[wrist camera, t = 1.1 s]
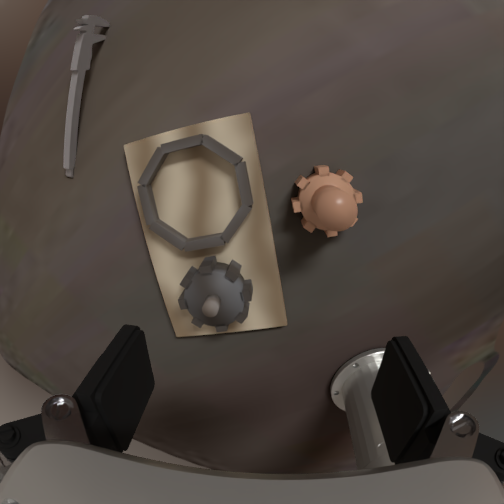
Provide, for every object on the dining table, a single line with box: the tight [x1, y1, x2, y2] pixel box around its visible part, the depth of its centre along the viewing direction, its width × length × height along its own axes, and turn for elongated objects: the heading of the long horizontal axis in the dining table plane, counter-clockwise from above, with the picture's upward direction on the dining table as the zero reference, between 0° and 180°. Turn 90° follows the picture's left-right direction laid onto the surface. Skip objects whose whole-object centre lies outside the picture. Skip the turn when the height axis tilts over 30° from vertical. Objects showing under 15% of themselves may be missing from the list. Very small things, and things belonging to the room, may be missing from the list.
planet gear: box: [291, 165, 363, 237], centre depth 28 cm, size 7×7×8 cm
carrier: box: [124, 113, 287, 337], centre depth 30 cm, size 14×24×6 cm, turn 11°
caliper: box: [63, 15, 110, 178], centre depth 26 cm, size 20×1×6 cm, turn 165°
